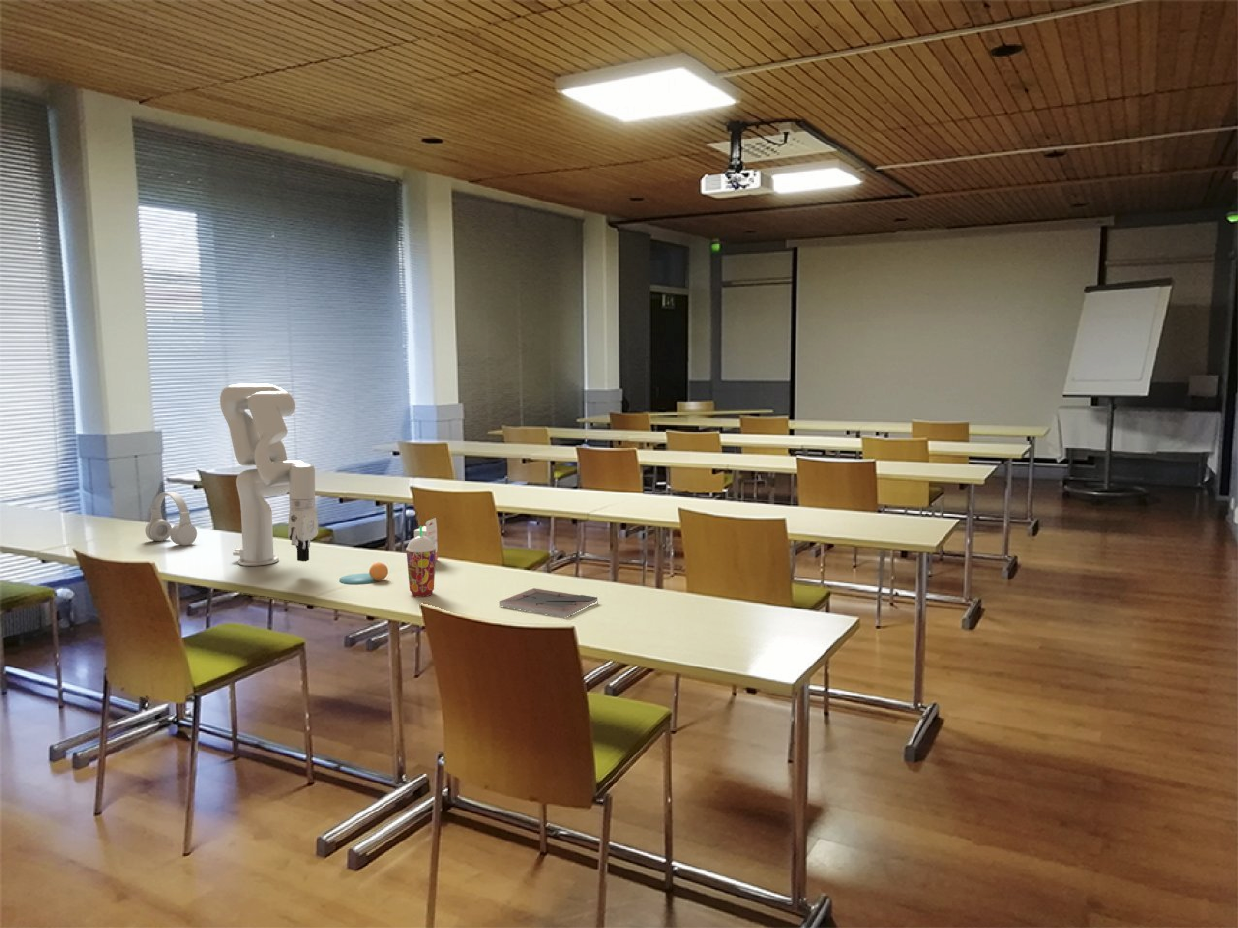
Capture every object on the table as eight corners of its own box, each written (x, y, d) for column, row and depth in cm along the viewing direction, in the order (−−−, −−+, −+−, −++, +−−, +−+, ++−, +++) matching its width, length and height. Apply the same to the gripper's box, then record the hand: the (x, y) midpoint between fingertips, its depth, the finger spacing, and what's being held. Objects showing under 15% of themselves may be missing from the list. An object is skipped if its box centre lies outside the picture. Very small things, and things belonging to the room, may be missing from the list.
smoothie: (405, 592, 247) (403, 524, 245) (433, 589, 250) (432, 522, 248) (409, 599, 239) (408, 529, 237) (439, 596, 243) (438, 527, 240)
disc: (331, 582, 257) (331, 582, 257) (352, 573, 270) (352, 572, 270) (370, 585, 255) (370, 584, 255) (390, 575, 267) (390, 574, 267)
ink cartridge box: (424, 559, 291) (423, 517, 289) (438, 559, 290) (437, 517, 288) (413, 564, 282) (412, 521, 281) (427, 565, 281) (426, 521, 280)
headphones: (144, 542, 317) (141, 491, 315) (166, 538, 324) (163, 488, 322) (177, 548, 307) (174, 495, 305) (198, 544, 315) (196, 492, 312)
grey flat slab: (597, 605, 236) (533, 595, 247) (597, 597, 236) (533, 587, 246) (565, 620, 222) (499, 609, 232) (565, 611, 222) (499, 600, 232)
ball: (385, 571, 257) (376, 585, 258) (394, 567, 262) (385, 581, 263) (371, 561, 258) (362, 575, 259) (380, 557, 263) (371, 571, 264)
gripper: (300, 508, 256) (300, 567, 258) (326, 500, 270) (326, 555, 273) (277, 506, 257) (278, 565, 260) (304, 498, 272) (305, 553, 274)
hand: (303, 560), depth 266 cm, fingers closed
